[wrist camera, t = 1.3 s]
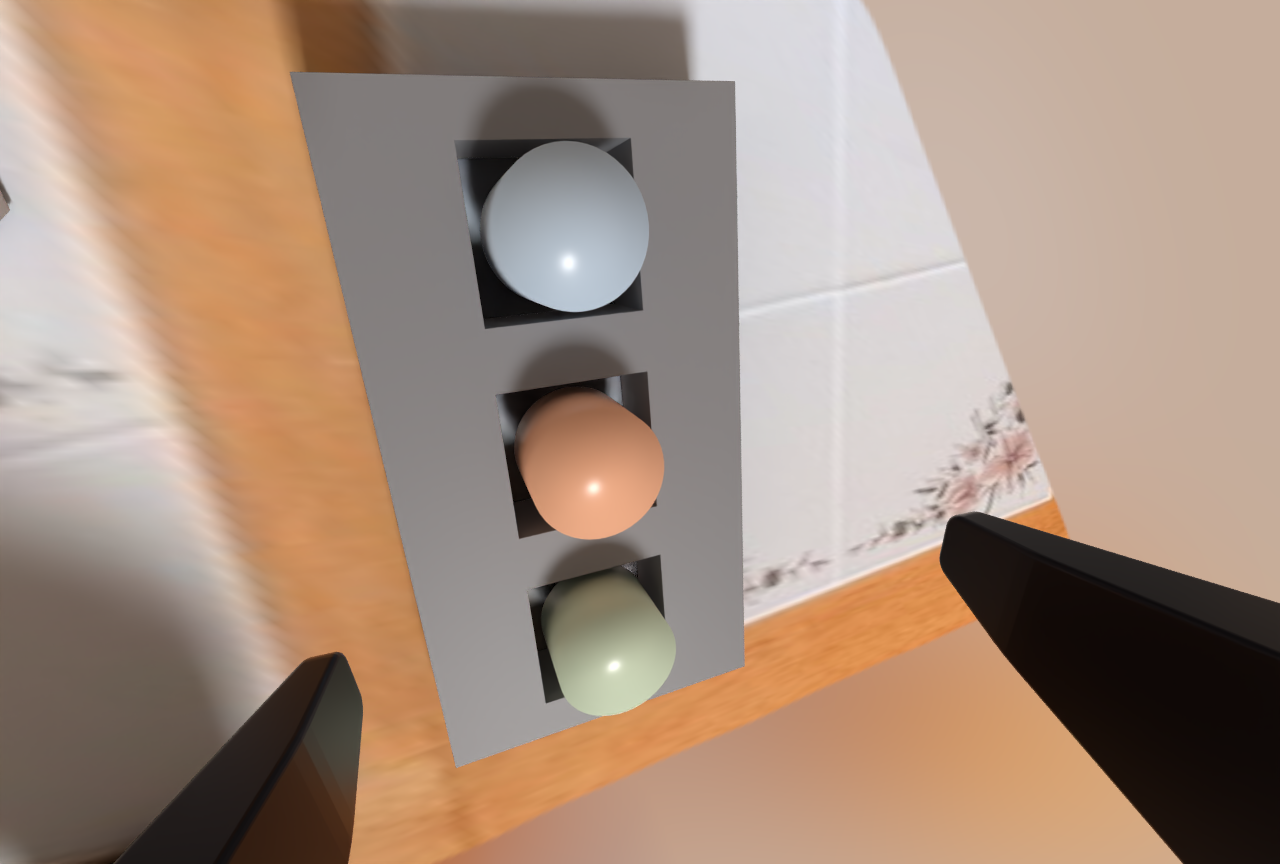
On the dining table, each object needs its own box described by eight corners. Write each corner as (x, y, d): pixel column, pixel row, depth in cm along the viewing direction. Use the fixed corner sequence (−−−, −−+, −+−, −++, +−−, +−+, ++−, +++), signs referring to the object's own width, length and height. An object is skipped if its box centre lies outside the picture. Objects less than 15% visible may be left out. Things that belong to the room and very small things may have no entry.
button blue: (618, 297, 19) (654, 303, 16) (491, 310, 17) (505, 320, 15) (607, 159, 17) (643, 139, 14) (469, 163, 16) (478, 142, 13)
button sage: (647, 639, 23) (678, 692, 20) (548, 670, 22) (567, 732, 19) (640, 551, 22) (673, 595, 19) (534, 579, 21) (552, 630, 18)
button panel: (712, 625, 27) (744, 666, 24) (452, 708, 23) (456, 767, 20) (692, 105, 20) (734, 81, 17) (312, 104, 16) (289, 71, 13)
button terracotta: (634, 486, 21) (667, 522, 18) (523, 511, 20) (540, 553, 17) (625, 377, 20) (660, 397, 17) (505, 396, 18) (521, 421, 15)
